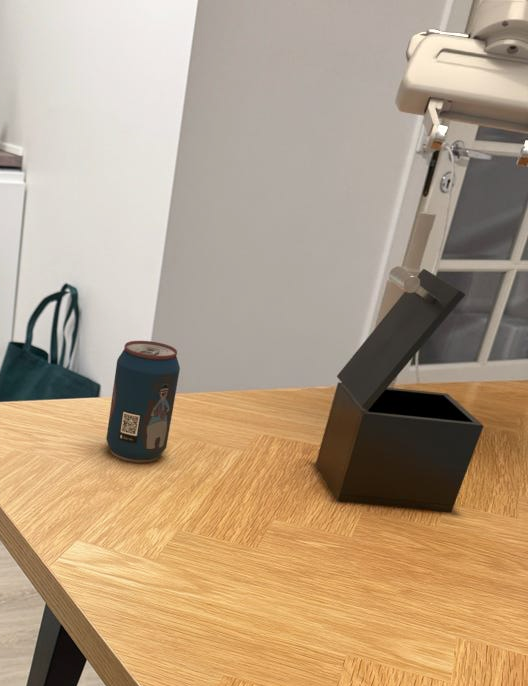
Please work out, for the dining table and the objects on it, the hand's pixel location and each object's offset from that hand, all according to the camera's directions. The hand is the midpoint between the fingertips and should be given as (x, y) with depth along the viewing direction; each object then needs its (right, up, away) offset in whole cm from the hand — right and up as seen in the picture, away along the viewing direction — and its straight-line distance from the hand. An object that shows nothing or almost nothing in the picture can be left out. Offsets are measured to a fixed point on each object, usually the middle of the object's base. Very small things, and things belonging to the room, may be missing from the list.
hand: (479, 154), depth 94 cm
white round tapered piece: (+1, -18, +34) cm, 38 cm away
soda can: (-36, -30, +8) cm, 48 cm away
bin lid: (-9, -21, -2) cm, 23 cm away
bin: (-8, -34, +7) cm, 36 cm away
